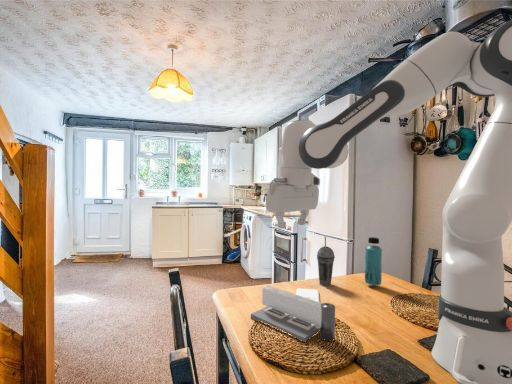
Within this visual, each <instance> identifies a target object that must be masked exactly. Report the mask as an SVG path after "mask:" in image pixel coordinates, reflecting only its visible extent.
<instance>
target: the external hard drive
mask: <svg viewBox="0 0 512 384" xmlns="http://www.w3.org/2000/svg"><path fill="white" fill-rule="evenodd" d="M295 294H296V295H299V296H302V297H305V298H308V299H311V300H314V301H317V302H320V295H319V294H320V293H319V290H318V289H311V288H302V287H301V288H300V287H297V288H296V292H295Z"/></svg>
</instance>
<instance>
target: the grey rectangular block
mask: <svg viewBox="0 0 512 384" xmlns="http://www.w3.org/2000/svg"><path fill="white" fill-rule="evenodd" d="M261 299H262V301H261V302H262V303H261V304H262V305H264V306H266V307H271V308H273V309H276V310H278V311H281V312H283V313H286V314H288V315H291V316H293V317H296V318H298V319H301V320H303V321H306V322H308V323H311V324H313V325H316V326H318V327H320V333H319V334H320V335H319V338H320V339H321V338H322V339H321V340H323V339H325V340H333V339H334V338H335V337H336V335H335V330H336V328H335V327H336V326H335V325H336V306H335V305H334V304H332V303H329V302H323V303H322V302H320V301H319V302H317V301H314V300H311V299H308V298H305V297H302V296H299V295H296V293H291V292H290V291H289V292H288V291H285V290H283V289H280V288H277V287H274V286H271V285H267V286H265V287H263V288H262V298H261ZM325 340H324V341H325ZM334 340H335V339H334ZM334 340H333V341H334Z"/></svg>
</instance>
